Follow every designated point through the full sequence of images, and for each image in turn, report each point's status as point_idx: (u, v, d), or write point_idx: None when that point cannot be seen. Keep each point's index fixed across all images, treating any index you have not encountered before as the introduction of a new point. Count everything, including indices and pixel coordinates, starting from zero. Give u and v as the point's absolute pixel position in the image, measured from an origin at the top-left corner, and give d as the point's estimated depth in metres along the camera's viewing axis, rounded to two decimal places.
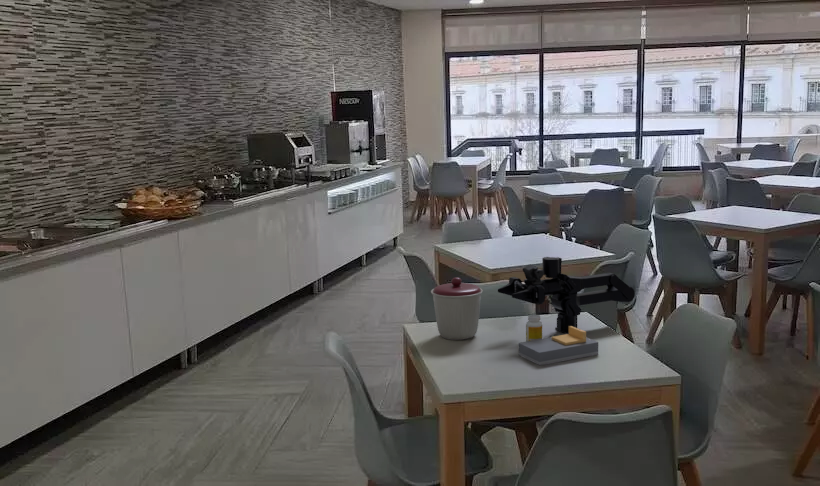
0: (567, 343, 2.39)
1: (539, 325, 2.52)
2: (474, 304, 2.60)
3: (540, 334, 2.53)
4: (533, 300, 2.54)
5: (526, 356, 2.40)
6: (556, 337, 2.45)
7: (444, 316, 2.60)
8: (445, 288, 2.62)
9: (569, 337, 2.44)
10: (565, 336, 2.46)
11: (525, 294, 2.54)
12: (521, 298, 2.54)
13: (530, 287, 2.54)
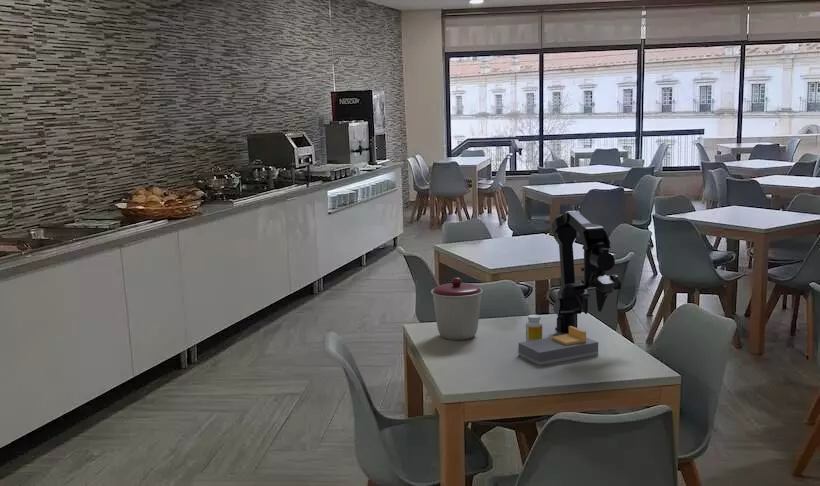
0: (567, 343, 2.39)
1: (539, 325, 2.52)
2: (474, 304, 2.60)
3: (540, 334, 2.53)
4: None
5: (526, 356, 2.40)
6: (556, 337, 2.45)
7: (444, 316, 2.60)
8: (445, 288, 2.62)
9: (569, 337, 2.44)
10: (565, 336, 2.46)
11: None
12: None
13: (608, 293, 2.45)
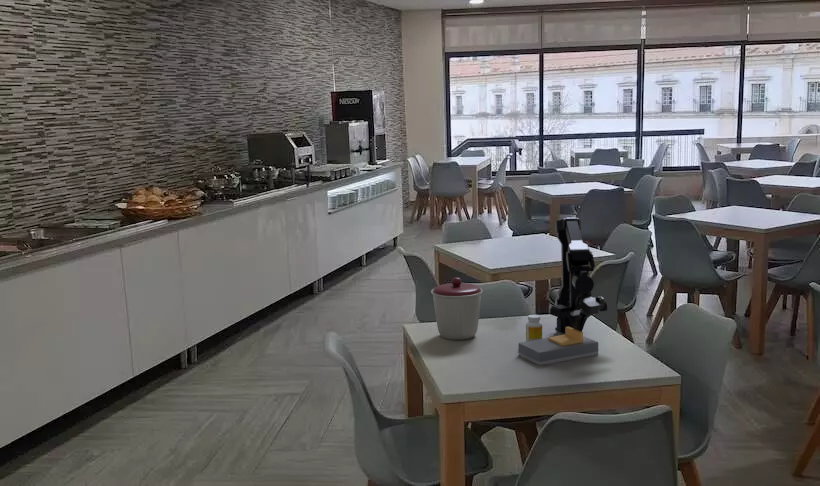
0: (564, 344, 2.39)
1: (539, 325, 2.52)
2: (474, 304, 2.60)
3: (540, 334, 2.53)
4: None
5: (526, 356, 2.40)
6: (553, 338, 2.44)
7: (444, 316, 2.60)
8: (445, 288, 2.62)
9: (565, 337, 2.44)
10: (562, 337, 2.45)
11: None
12: None
13: (588, 316, 2.43)
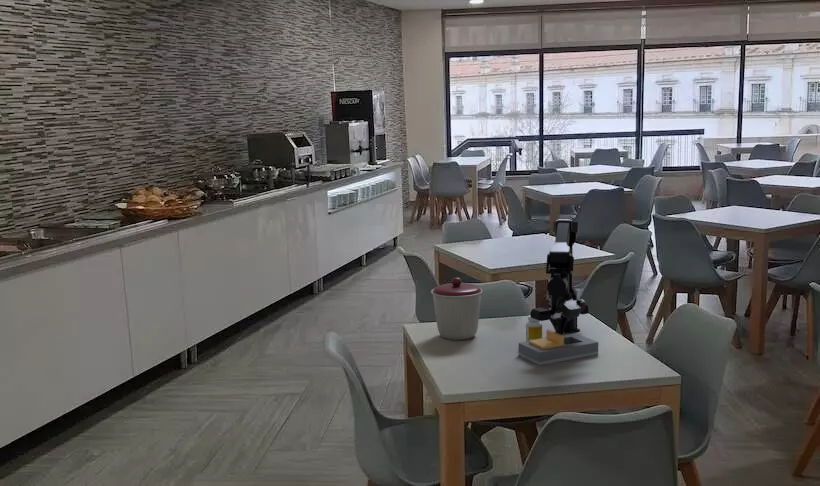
0: (544, 347, 2.36)
1: (539, 325, 2.52)
2: (474, 304, 2.60)
3: (540, 334, 2.53)
4: None
5: (526, 356, 2.40)
6: (533, 341, 2.41)
7: (444, 316, 2.60)
8: (445, 288, 2.62)
9: (546, 341, 2.41)
10: (543, 340, 2.42)
11: None
12: None
13: (569, 319, 2.40)
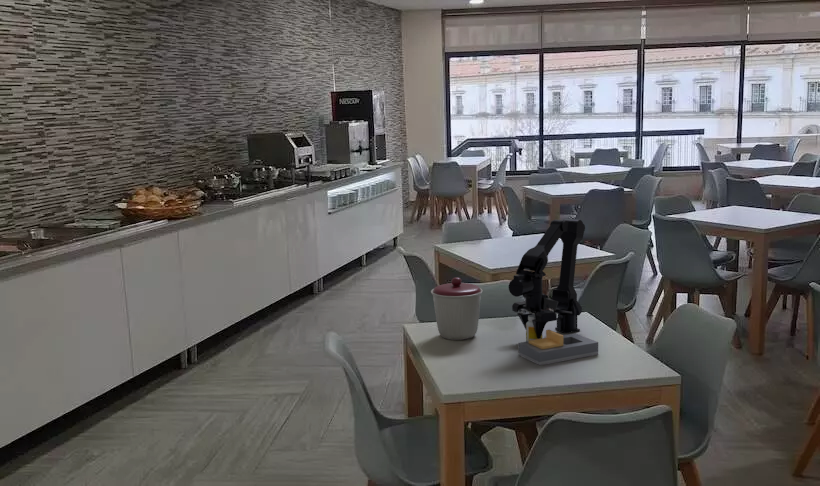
0: (544, 347, 2.36)
1: None
2: (474, 304, 2.60)
3: None
4: None
5: (526, 356, 2.40)
6: (533, 341, 2.41)
7: (444, 316, 2.60)
8: (445, 288, 2.62)
9: (546, 341, 2.41)
10: (542, 340, 2.42)
11: None
12: None
13: None
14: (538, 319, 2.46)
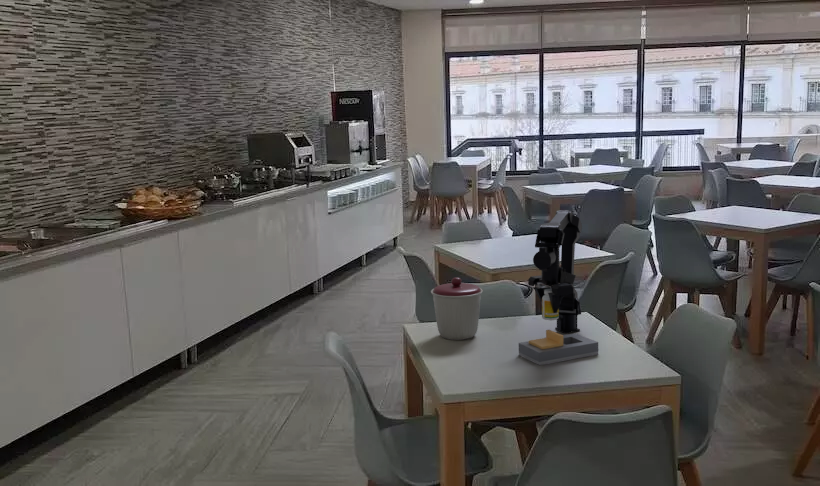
0: (544, 347, 2.36)
1: None
2: (474, 304, 2.60)
3: None
4: None
5: (526, 356, 2.40)
6: (533, 341, 2.41)
7: (444, 316, 2.60)
8: (445, 288, 2.62)
9: (546, 341, 2.41)
10: (542, 340, 2.42)
11: None
12: None
13: None
14: (554, 292, 2.39)
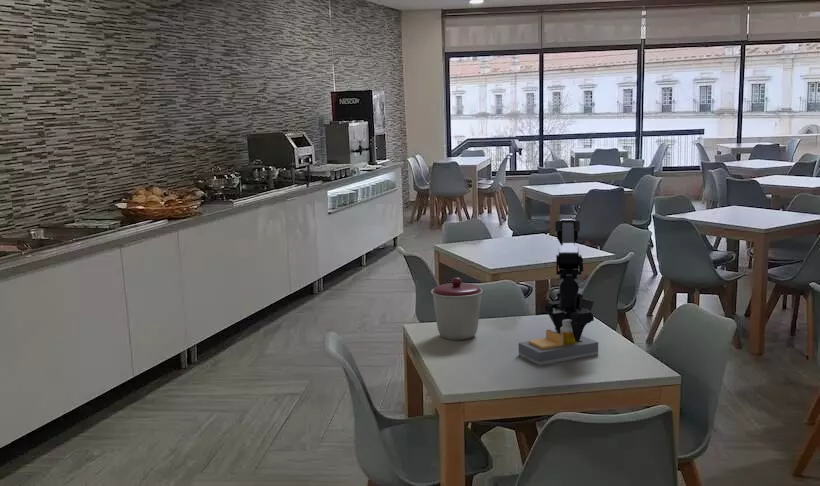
0: (544, 347, 2.36)
1: None
2: (474, 304, 2.60)
3: None
4: None
5: (526, 356, 2.40)
6: (533, 341, 2.41)
7: (444, 316, 2.60)
8: (445, 288, 2.62)
9: (546, 341, 2.41)
10: (542, 340, 2.42)
11: None
12: None
13: None
14: (574, 320, 2.35)
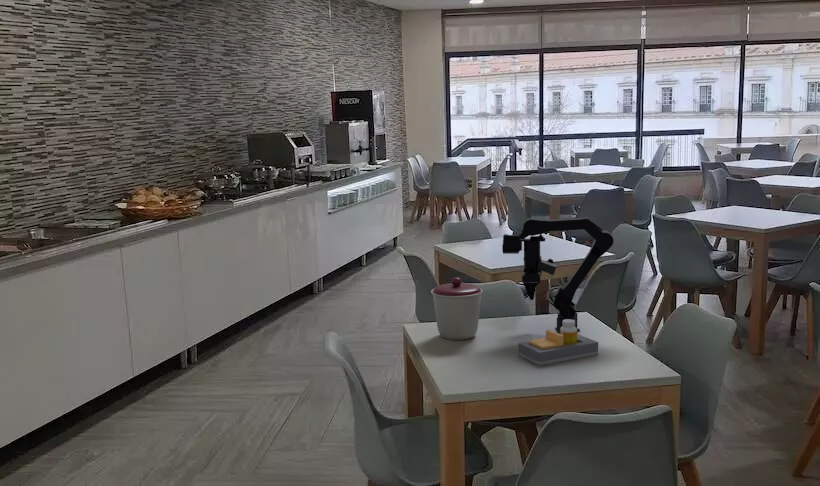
0: (544, 347, 2.36)
1: (574, 330, 2.41)
2: (474, 304, 2.60)
3: (575, 340, 2.42)
4: None
5: (526, 356, 2.40)
6: (533, 341, 2.41)
7: (444, 316, 2.60)
8: (445, 288, 2.62)
9: (546, 341, 2.41)
10: (542, 340, 2.42)
11: None
12: None
13: None
14: None
